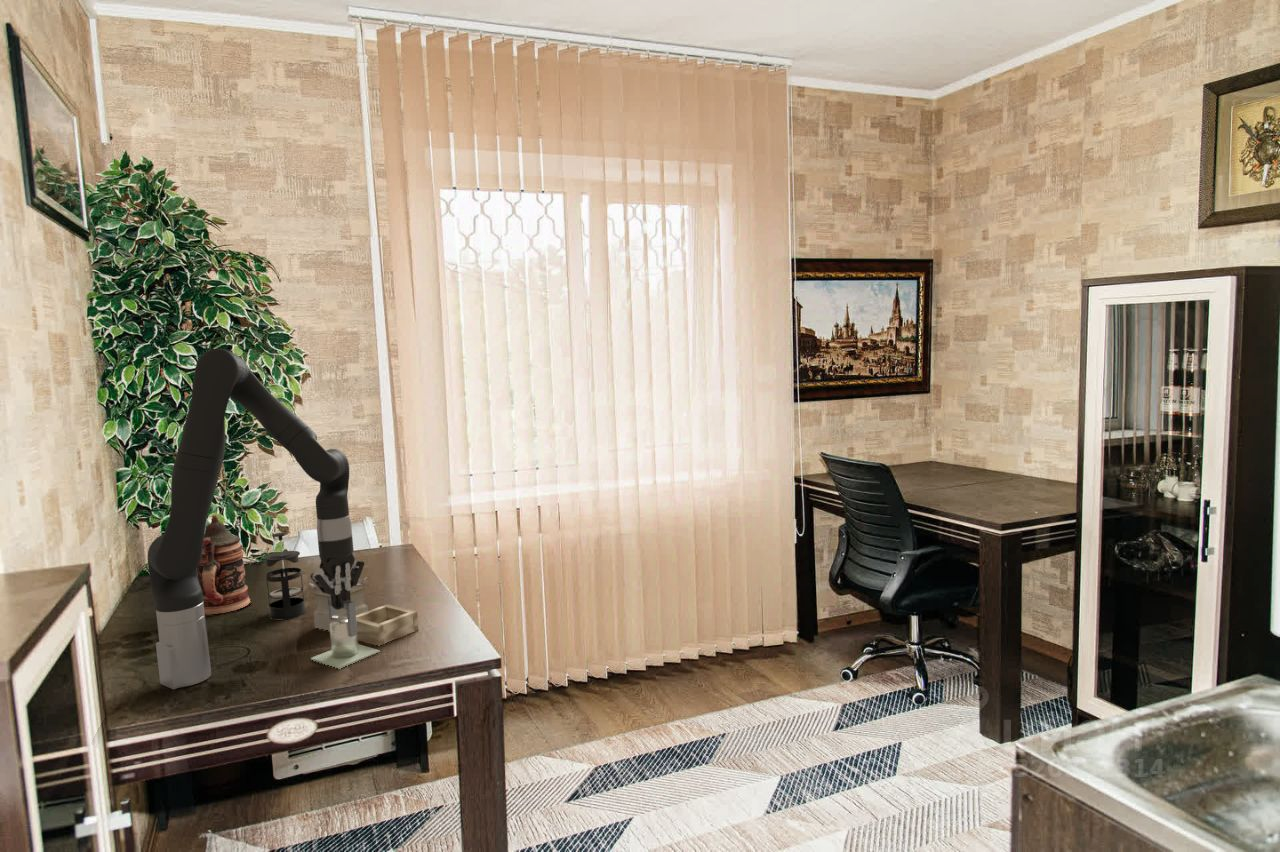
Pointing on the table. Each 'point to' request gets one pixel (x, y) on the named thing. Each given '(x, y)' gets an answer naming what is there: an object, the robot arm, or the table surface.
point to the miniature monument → (323, 612)
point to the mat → (342, 662)
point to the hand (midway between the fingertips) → (341, 607)
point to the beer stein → (222, 570)
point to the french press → (284, 585)
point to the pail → (343, 630)
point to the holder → (385, 624)
